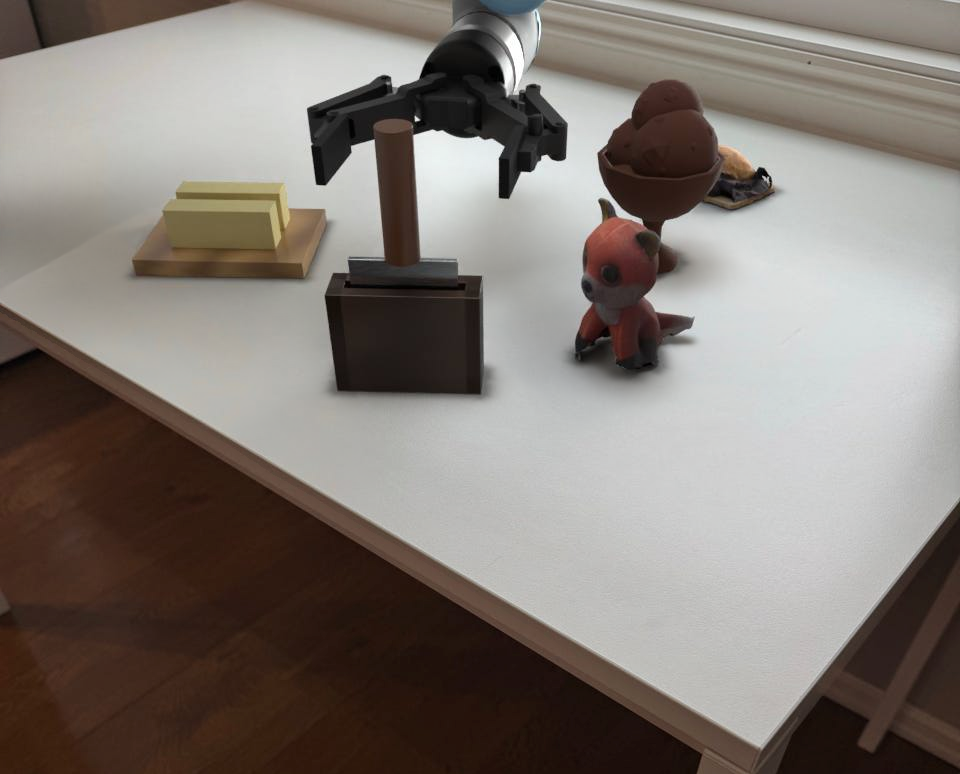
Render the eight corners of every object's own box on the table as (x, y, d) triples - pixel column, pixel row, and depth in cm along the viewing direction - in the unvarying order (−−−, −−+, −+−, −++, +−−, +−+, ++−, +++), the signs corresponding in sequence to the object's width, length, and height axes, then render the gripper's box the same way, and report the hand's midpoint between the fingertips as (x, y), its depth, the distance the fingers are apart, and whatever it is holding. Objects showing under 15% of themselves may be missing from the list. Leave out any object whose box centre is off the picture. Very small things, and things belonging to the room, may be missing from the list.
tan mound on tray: (651, 183, 104) (655, 146, 102) (704, 162, 108) (709, 127, 105) (728, 213, 99) (734, 175, 96) (780, 190, 102) (788, 153, 100)
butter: (171, 247, 91) (161, 210, 89) (190, 217, 96) (182, 180, 93) (275, 249, 91) (269, 212, 88) (290, 219, 95) (284, 182, 93)
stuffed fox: (716, 350, 80) (743, 203, 71) (614, 396, 75) (630, 244, 67) (653, 315, 84) (671, 171, 75) (553, 356, 80) (560, 208, 71)
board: (135, 275, 91) (131, 259, 89) (172, 221, 99) (168, 206, 98) (304, 278, 90) (301, 263, 89) (327, 223, 98) (325, 208, 97)
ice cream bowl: (569, 251, 93) (578, 78, 82) (665, 227, 96) (686, 58, 85) (630, 297, 86) (649, 116, 75) (731, 270, 90) (763, 92, 79)
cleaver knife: (359, 388, 77) (329, 131, 63) (364, 370, 78) (336, 117, 65) (459, 390, 76) (451, 133, 62) (462, 373, 78) (455, 119, 64)
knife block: (337, 390, 76) (324, 295, 71) (344, 366, 79) (332, 272, 73) (481, 394, 76) (479, 298, 70) (483, 370, 78) (483, 275, 72)
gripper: (613, 133, 84) (581, 238, 69) (337, 116, 87) (253, 212, 73) (621, 34, 78) (588, 126, 64) (327, 20, 82) (234, 104, 68)
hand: (409, 172), depth 69 cm, fingers open, 13 cm apart
